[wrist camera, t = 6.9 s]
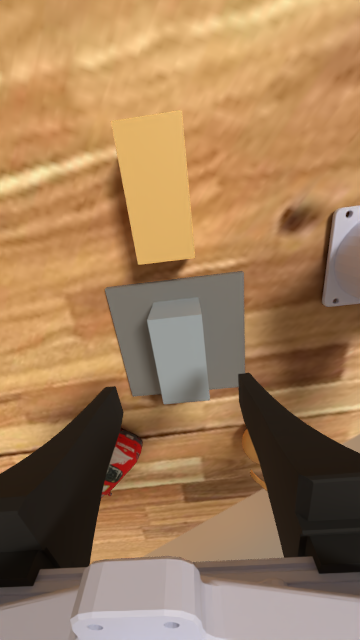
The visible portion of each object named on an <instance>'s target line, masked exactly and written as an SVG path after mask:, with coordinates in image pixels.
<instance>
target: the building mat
mask: <svg viewBox="0 0 360 640" xmlns="http://www.w3.org/2000/svg"><path fill="white" fill-rule="evenodd" d="M105 292H106V296H107V300H108V303H109V307H110V311H111V315H112V319H113V323H114V326H115V330H116V334H117V338H118V342H119V346H120V349H121V353H122V357H123V361H124V365H125V368H126V372H127V376H128V380H129V384H130V388H131V391H132V395H133V396H143V395H155V394H162V393H161V388H160V383H159V378H158V373H157V368H156V363H155V358H154V353H153V348H152V343H151V338H150V333H149V328H148V323H147V319H148V316H149V314H150V311H151V308H152V305H153V303H154V302H162V301H171V300H179V299H188V298H196V297H198V298H199V303H200V308H201V313H202V323H203V333H204V344H205V354H206V364H207V375H208V385H209V390H210V389H222V388H233V387H239V385H238V374H242V373H245V336H244V272H242V271H239V272H231V273H222V274H214V275H205V276H197V277H189V278H180V279H172V280H164V281H155V282H147V283H139V284H130V285H122V286H114V287H107V288H105Z"/></svg>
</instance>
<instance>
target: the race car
mask: <svg viewBox="0 0 360 640" xmlns="http://www.w3.org/2000/svg"><path fill="white" fill-rule="evenodd" d="M140 439H141V438H139V437H136V436H135V435H133V434H131V433H129V432H128V431H125V430H123V429H120V432H119V436H118V439H117V442H116V445H115V448H114V451H113V455H112V458H111V461H110V464H109V467H108V470H107V474H106V478H105V482H104V487H103V491H102V496H101V498H102V497H103V496H104V495H107V494H108V495H109V496H111V495H112V493H111V492H110V491H111V490H112V489H113V488H114V487H115V486H116V485H117V483H118V482H119V481H120V480H121V479H122V478H123V477H124V476H125V474H126V473H127V472H128V471H129V470H130V469H131V468H132V467H133V466H134V465H135V463H136V462H137V460H138V458H139V456H140V453H141V449H142V444H143V442H142V440H140Z"/></svg>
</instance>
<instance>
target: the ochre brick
mask: <svg viewBox="0 0 360 640" xmlns="http://www.w3.org/2000/svg"><path fill="white" fill-rule="evenodd" d="M111 124H112V130H113V135H114V140H115V146H116V151H117V156H118V161H119V167H120V172H121V177H122V183H123V188H124V193H125V198H126V204H127V209H128V214H129V220H130V225H131V230H132V235H133V241H134V246H135V251H136V257H137V262H138V265H141V264H149V263H158V262H166V261H174V260H183V259H191V258H195V250H194V239H193V228H192V217H191V206H190V195H189V184H188V173H187V162H186V151H185V140H184V129H183V118H182V110H177V111H171V112H165V113H158V114H152V115H146V116H140V117H133V118H127V119H121V120H115V121H111Z"/></svg>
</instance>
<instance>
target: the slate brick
mask: <svg viewBox="0 0 360 640" xmlns="http://www.w3.org/2000/svg"><path fill="white" fill-rule="evenodd" d="M147 323H148V328H149V333H150V338H151V343H152V348H153V353H154V358H155V363H156V368H157V373H158V378H159V383H160V388H161V393H162V398H163V403H164V404H173V403H184V402H195V401H207V400H210V396H209V385H208V375H207V364H206V354H205V344H204V333H203V323H202V313H201V308H200V303H199V298H198V297H196V298H188V299H179V300H171V301H162V302H154V303H153V305H152V308H151V311H150V314H149V316H148V319H147Z"/></svg>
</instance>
